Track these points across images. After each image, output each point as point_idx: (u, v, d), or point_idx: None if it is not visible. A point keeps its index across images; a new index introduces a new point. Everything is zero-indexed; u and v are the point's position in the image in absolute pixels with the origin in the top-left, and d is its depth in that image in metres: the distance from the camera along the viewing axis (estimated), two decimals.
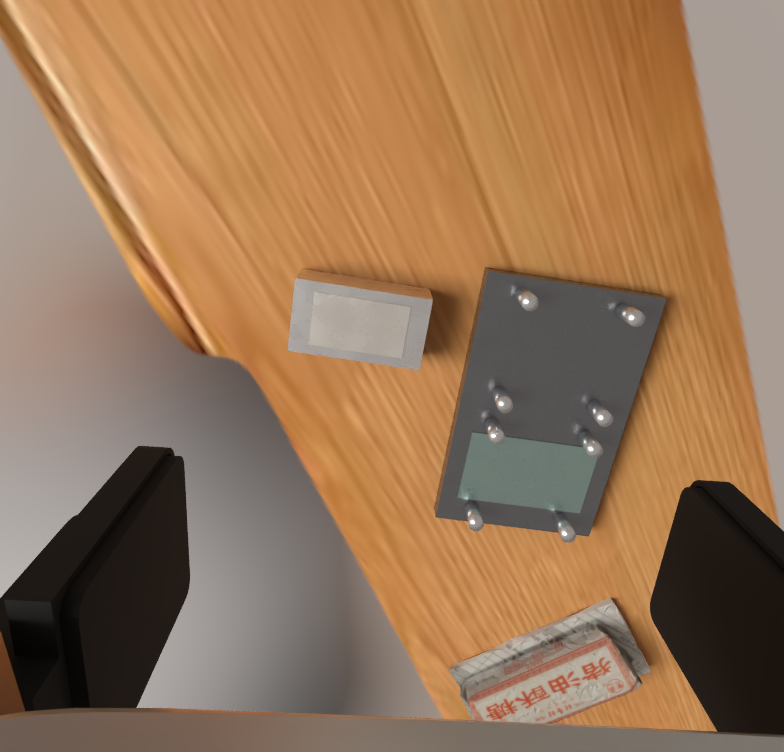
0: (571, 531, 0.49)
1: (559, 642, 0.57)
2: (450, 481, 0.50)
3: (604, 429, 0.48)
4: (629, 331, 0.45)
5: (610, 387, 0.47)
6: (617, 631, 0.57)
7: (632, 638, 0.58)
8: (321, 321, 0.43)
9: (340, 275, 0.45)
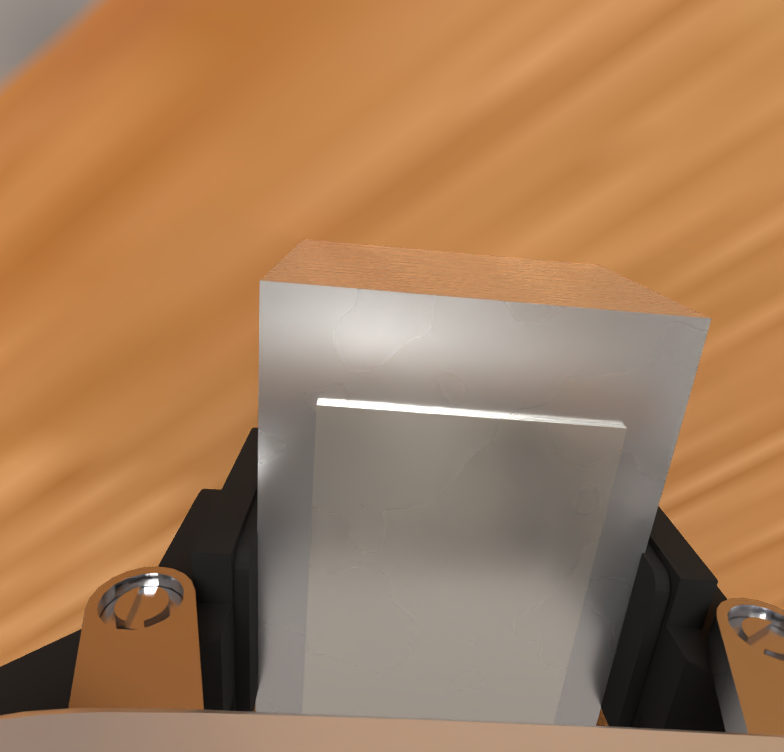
0: None
1: None
2: None
3: None
4: None
5: None
6: None
7: None
8: (454, 464, 0.08)
9: None
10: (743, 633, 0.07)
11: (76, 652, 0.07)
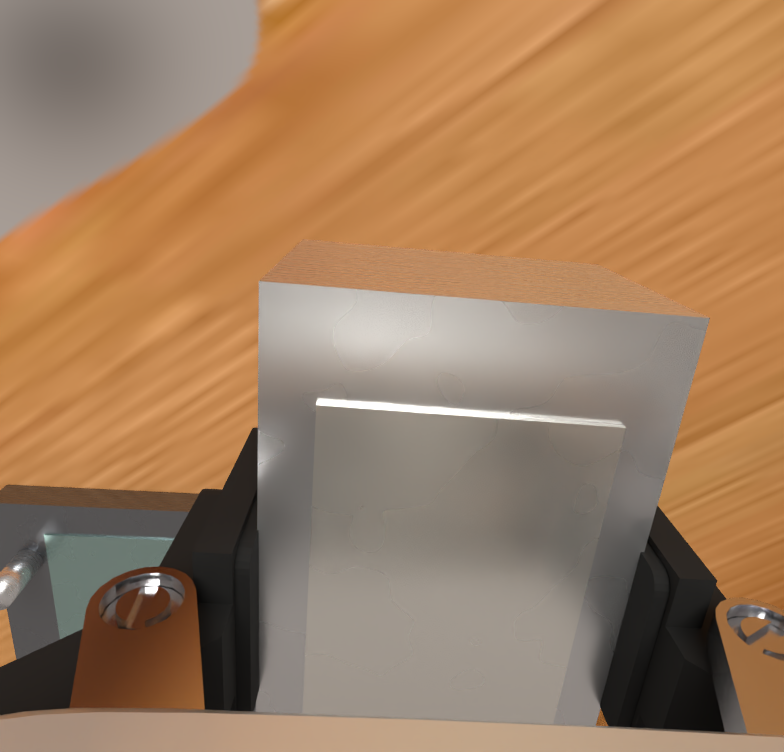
0: None
1: None
2: (75, 518, 0.26)
3: None
4: None
5: None
6: None
7: None
8: (453, 464, 0.08)
9: None
10: (742, 633, 0.07)
11: (77, 652, 0.07)
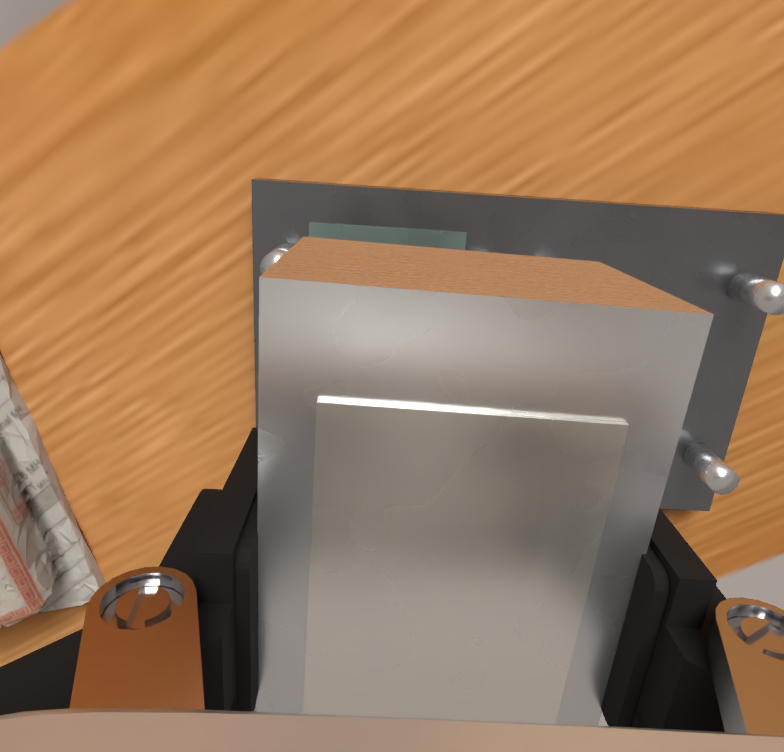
0: None
1: (26, 512, 0.28)
2: (345, 201, 0.23)
3: None
4: None
5: None
6: None
7: None
8: (455, 461, 0.08)
9: None
10: (742, 633, 0.07)
11: (77, 652, 0.07)
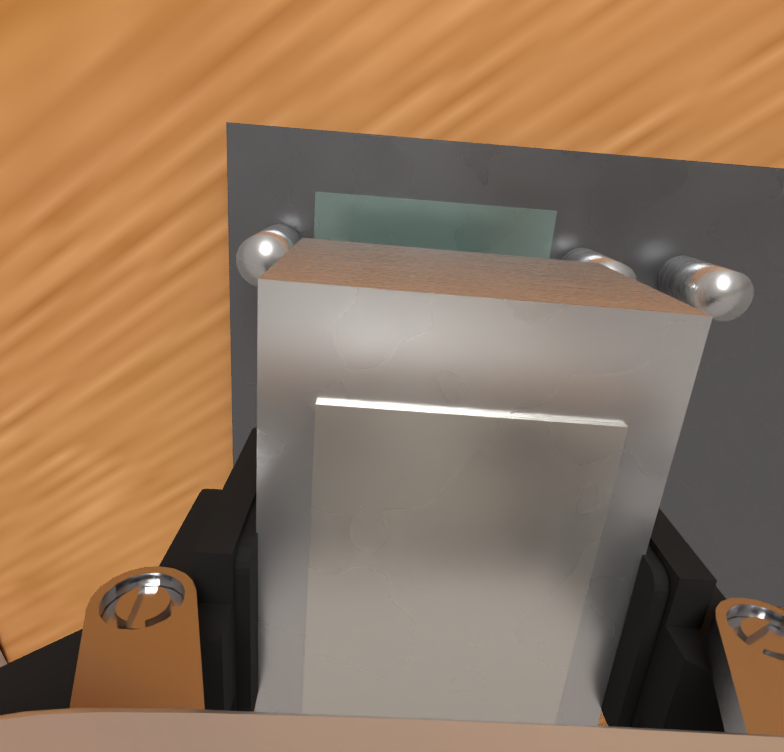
0: None
1: None
2: (372, 159, 0.15)
3: None
4: None
5: None
6: None
7: None
8: (453, 464, 0.08)
9: None
10: (742, 633, 0.07)
11: (77, 652, 0.07)
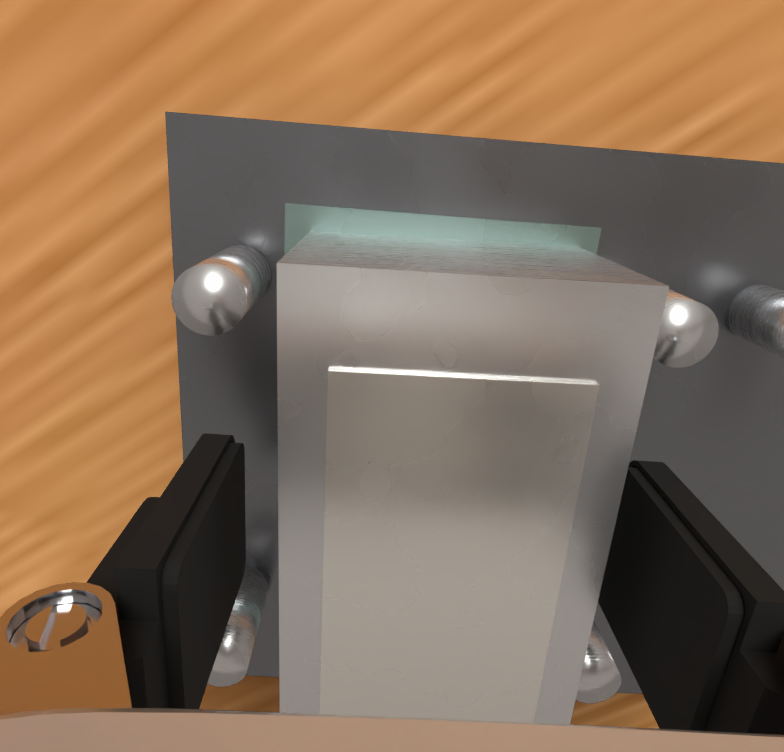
0: (244, 669, 0.13)
1: None
2: (359, 161, 0.11)
3: None
4: None
5: None
6: None
7: None
8: (449, 421, 0.09)
9: None
10: None
11: None
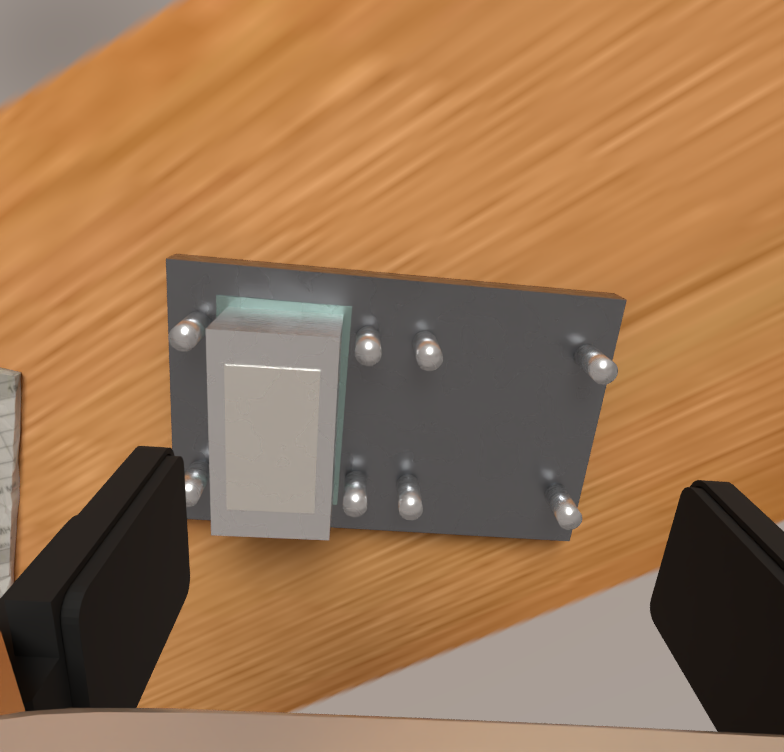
0: (197, 498, 0.28)
1: None
2: (247, 278, 0.27)
3: (371, 503, 0.32)
4: (525, 506, 0.32)
5: (440, 499, 0.32)
6: None
7: None
8: (269, 383, 0.25)
9: None
10: None
11: None
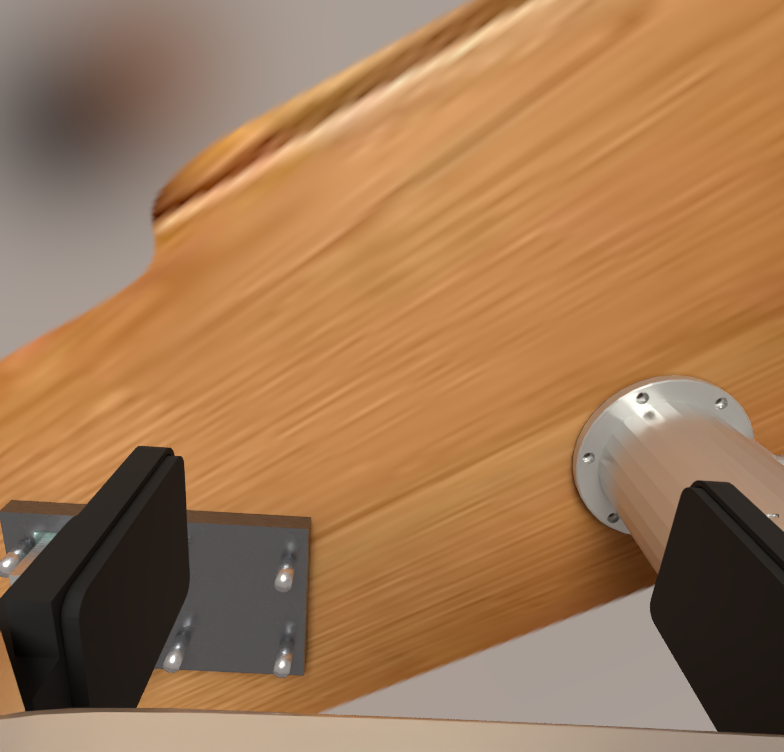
0: None
1: None
2: (53, 521, 0.42)
3: None
4: (267, 653, 0.46)
5: (206, 649, 0.46)
6: None
7: None
8: None
9: None
10: None
11: None
